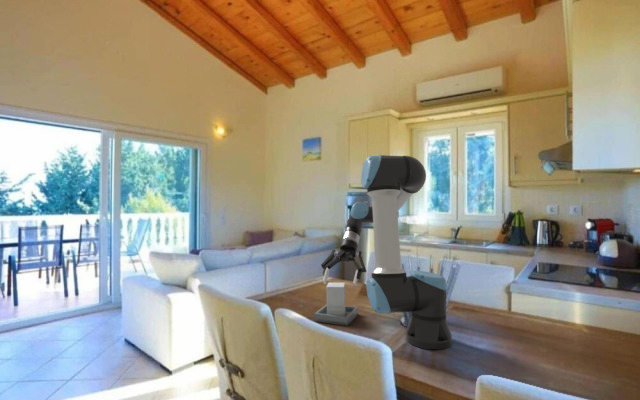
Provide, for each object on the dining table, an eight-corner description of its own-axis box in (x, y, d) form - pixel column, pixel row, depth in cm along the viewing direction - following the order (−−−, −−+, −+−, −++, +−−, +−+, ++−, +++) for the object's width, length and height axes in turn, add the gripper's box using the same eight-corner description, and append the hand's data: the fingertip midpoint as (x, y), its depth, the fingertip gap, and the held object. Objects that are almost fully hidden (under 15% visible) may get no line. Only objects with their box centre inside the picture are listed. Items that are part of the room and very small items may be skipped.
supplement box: (345, 312, 145) (345, 282, 145) (344, 318, 137) (344, 286, 137) (328, 311, 146) (328, 281, 145) (326, 317, 138) (326, 286, 138)
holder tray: (358, 314, 145) (358, 307, 145) (347, 325, 132) (347, 318, 132) (327, 310, 150) (327, 303, 150) (314, 320, 138) (314, 313, 138)
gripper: (377, 249, 157) (369, 291, 143) (326, 247, 166) (314, 285, 153) (374, 239, 152) (366, 281, 138) (322, 237, 161) (309, 276, 148)
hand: (339, 283), depth 145 cm, fingers open, 13 cm apart
